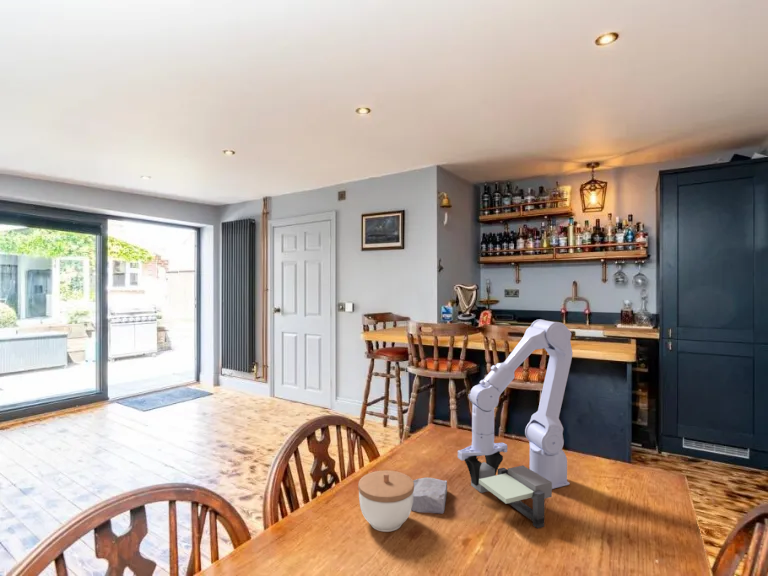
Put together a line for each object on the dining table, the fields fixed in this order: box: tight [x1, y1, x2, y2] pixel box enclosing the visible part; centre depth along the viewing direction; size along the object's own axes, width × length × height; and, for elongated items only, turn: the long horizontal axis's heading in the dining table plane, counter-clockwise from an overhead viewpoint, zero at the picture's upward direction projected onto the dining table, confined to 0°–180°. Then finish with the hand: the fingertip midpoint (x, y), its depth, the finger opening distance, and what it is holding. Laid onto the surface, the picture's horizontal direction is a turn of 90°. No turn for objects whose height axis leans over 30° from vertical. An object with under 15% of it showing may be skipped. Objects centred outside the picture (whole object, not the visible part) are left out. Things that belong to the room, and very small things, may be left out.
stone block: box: [411, 477, 448, 515], centre depth 103 cm, size 12×5×10 cm
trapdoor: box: [479, 465, 553, 505], centre depth 97 cm, size 13×10×3 cm
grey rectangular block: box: [470, 461, 496, 494], centre depth 109 cm, size 4×4×6 cm
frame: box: [496, 467, 545, 529], centre depth 98 cm, size 2×14×8 cm, turn 23°
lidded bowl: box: [357, 469, 414, 533], centre depth 93 cm, size 13×13×11 cm
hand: (482, 482), depth 110 cm, fingers closed on grey rectangular block, 4 cm apart
